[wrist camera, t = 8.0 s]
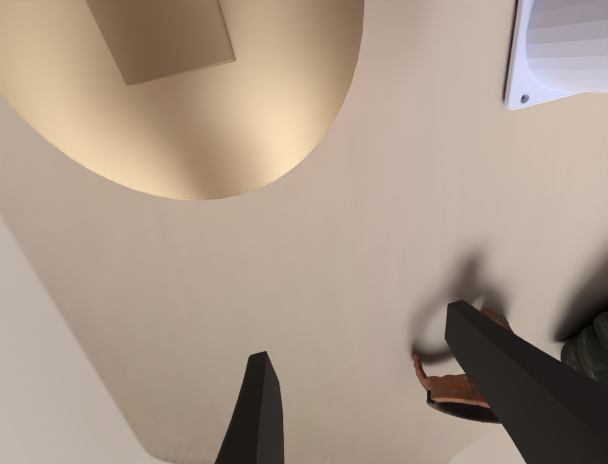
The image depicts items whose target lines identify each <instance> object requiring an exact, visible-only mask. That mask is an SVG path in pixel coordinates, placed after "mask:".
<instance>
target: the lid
mask: <svg viewBox="0 0 608 464" xmlns="http://www.w3.org/2000/svg"><path fill="white" fill-rule="evenodd" d="M363 14H364V0H0V94H1V95H2V96H3V97H4V98H5V99H6V100H7V101H8V103H9V104H10V105H11V106H12V107H13V108H14V109H15V110H16V111H17V112H18V113H19V115H20V116H21V117H22V118H23V119H24V120H25V121H26V122H28V123H29V124H30V125H31V126H32V127H33V128H34V129H35V130H36V131H37V132H39V133H40V134H41V135H42V136H43V137H44V138H45V139H46V140H48V141H49V142H50V143H52V144H53V145H54V146H56V147H57V148H58V149H60V150H61V151H62V152H63V153H65V154H66V155H67V156H69V157H70V158H72V159H74V160H75V161H77V162H78V163H80V164H82V165H83V166H85V167H87V168H88V169H90V170H91V171H93V172H95V173H97V174H99V175H101V176H103V177H105V178H107V179H109V180H111V181H113V182H116V183H119V184H121V185H124V186H126V187H129V188H132V189H134V190H137V191H141V192H145V193H148V194H152V195H156V196H161V197H167V198H174V199H182V200H210V199H221V198H226V197H231V196H236V195H240V194H243V193H246V192H249V191H252V190H255V189H258V188H260V187H262V186H264V185H266V184H268V183H270V182H272V181H274V180H276V179H277V178H279V177H280V176H282V175H284V174H285V173H287V172H288V171H290V170H291V169H292V168H293V167H295V166H296V165H297V164H298V163H299V162H300V161H302V160H303V159H304V158H305V157H306V156H307V155H308V154H309V153H310V152H311V151H312V149H313V148H314V147H315V146H316V145H317V144H318V143H319V142H320V140H321V139H322V137H323V136H324V135H325V133H326V132H327V130H328V129H329V128H330V126H331V125H332V123H333V121H334V119H335V117H336V116H337V114H338V112H339V110H340V108H341V106H342V104H343V102H344V99H345V97H346V94H347V92H348V89H349V87H350V85H351V81H352V78H353V74H354V71H355V67H356V64H357V60H358V54H359V49H360V43H361V37H362V29H363Z"/></svg>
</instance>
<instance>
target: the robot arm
mask: <svg viewBox="0 0 608 464" xmlns="http://www.w3.org/2000/svg"><path fill="white" fill-rule="evenodd" d="M582 92H597V93H608V0H519V1H518V8H517V16H516V23H515V30H514V37H513V44H512V51H511V58H510V66H509V73H508V80H507V87H506V94H505V101H504V106H505V107H506V108H507V109H510V110H515V109H519V108H523V107H527V106H531V105H535V104H539V103H543V102H547V101H550V100H554V99H558V98H562V97H566V96H570V95H574V94H578V93H582ZM523 95H524V98H523V100H522V101H521V98H522V96H523ZM445 340H446V342H447V344H448V345H449V347H450V349H451V351H452V353H453V354H454V356H455V358H456V360H457V361H458V363H459V365H460V366H461V367H462V369H463V370H464V372H465V373H466V375H467V376H468V377H469V379H470V380H471V382H472V383H473V384H474V386H475V387H476V389H477V390H478V391H479V393H480V394H481V396H482V397H483V398H484V400H485V401H486V403H487V404H488V405H489V407H490V408H491V409H492V411H493V412H494V414H495V415H496V416H497V418H498V419H499V421H500V422H501V423H502V425H503V426H504V428H505V429H506V431H507V432H508V434H509V435H510V437H511V438H512V440H513V442H514V443H515V445H516V447H517V448H518V450H519V452H520V453H521V455H522V457H523V458H524V460H525V462H526V463H527V464H608V386H606V385H604V384H602V383H600V382H598V381H596V380H594V379H592V378H590V377H588V376H586V375H584V374H582V373H581V372H579V371H577V370H575V369H573V368H571V367H569V366H568V365H566V364H564V363H562V362H560V361H559V360H557V359H555V358H553V357H552V356H550V355H548V354H547V353H545V352H543V351H541V350H540V349H538V348H536V347H535V346H533V345H531V344H530V343H528V342H527V341H525V340H524V339H522V338H520V337H519V336H517V335H516V334H514V333H512V332H511V331H509V330H508V329H506V328H505V327H503V326H501V325H500V324H498V323H497V322H495V321H494V320H492V319H491V318H489V317H488V316H486V315H485V314H483V313H482V312H480V311H479V310H477V309H476V308H474V307H473V306H471V305H470V304H468V303H467V302H465V301H464V300H461V301H457V302H453V303H449V304H448V307H447V318H446V329H445ZM215 464H284V434H283V409H282V401H281V393H280V385H279V381H278V378H277V376H276V373H275V371H274V368H273V366H272V364H271V361H270V359H269V356H268V354H267V352H266V351H264V352H260V353H256V354H253V355H250V357H249V358H248V363H247V367H246V371H245V375H244V379H243V383H242V386H241V390H240V393H239V397H238V400H237V403H236V406H235V409H234V412H233V415H232V418H231V421H230V424H229V427H228V430H227V432H226V435H225V438H224V440H223V443H222V446H221V449H220V451H219V454H218V456H217V459H216V461H215Z"/></svg>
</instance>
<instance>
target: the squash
mask: <svg viewBox="0 0 608 464" xmlns="http://www.w3.org/2000/svg"><path fill="white" fill-rule="evenodd" d="M593 324H594V325H591V326H588V327H586V328H584V329H583V330H582V331H581V332H580V334H579V335H576V336H574V337H573V338H572V339H570V340H569V341H568V342H567V343H566V344H565V345H564V346H563V349H562V351H561V362H562V363H564V364H566V365H568V366H569V367H571V368H573V369H575V370H577V371H579V372H581V373H582V374H584V375H586V376H588V377H590V378H592V379H594V380H596V381H598V382H600V383H602V384H604V385H606V386H608V312H604V313H601V314H600V315H598V316H596V317H595V319H594V321H593Z"/></svg>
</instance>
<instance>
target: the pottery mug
mask: <svg viewBox="0 0 608 464" xmlns="http://www.w3.org/2000/svg"><path fill="white" fill-rule="evenodd" d="M481 312H482V313H483V314H485V315H486V316H488V317H489V318H491V319H492V320H494V321H495V322H497V323H498V324H500V325H501V326H503V327H505V328H506V329H508V330H509V331H511V332H512V333H514V332H513V331H512V329H511V328H510V326H509V323H508V321H507V320H506V319H505V318H504V317H503V316H502V315H500V314H499V313H496V312H493V311H491V310H487V309H482V310H481ZM413 359H414V367H415V369H416V375H417V377H418V378H419V380H420V382H421V384H422V386H423V387H424V388H425V389H426V390H427V404H428V405H429V406H430V407H432V408H434V409H436V410H438V411H440V412H443V413H446V414H449V415H452V416H455V417H459V418H463V419H467V420H473V421H479V422H483V423H484V422H486V423H496V424H502V423H501V422H500V421H499V419H498V418H497V416H496V415H495V414H494V412H493V411H492V409H491V408H490V407H489V405H488V404H487V403H486V401H485V400H484V398H483V397H482V396H481V394H480V393H479V391H478V390H477V389H476V387H475V386H474V384H473V383H472V382H471V380H470V379H469V377H468V376H467V375H466V374H461V375H445V376H443V377H438V376H430V377H427V376H426V374H425V372H424V370H423V368H422V365H421V359H420V356H419V355H418V354H415V355H414V357H413Z"/></svg>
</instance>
